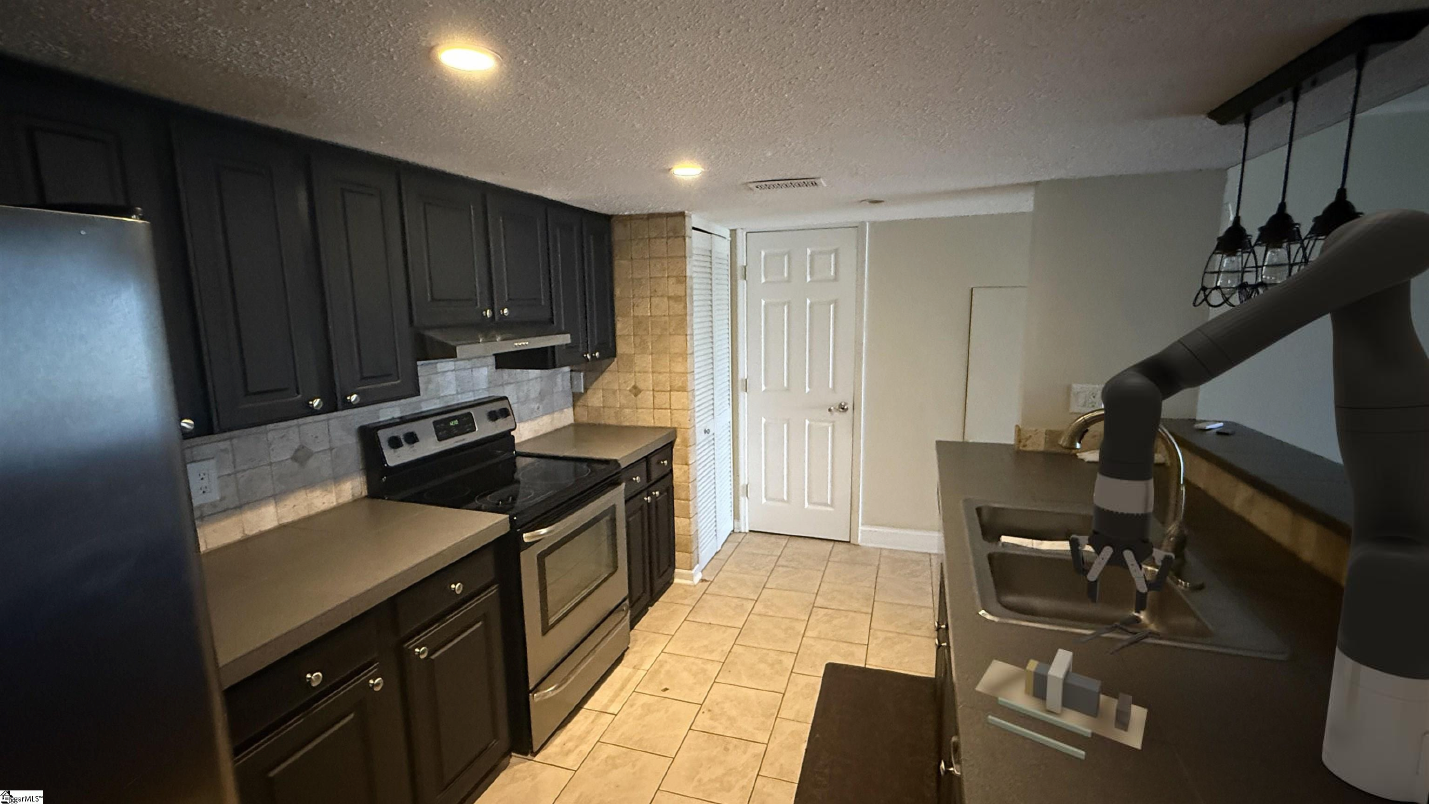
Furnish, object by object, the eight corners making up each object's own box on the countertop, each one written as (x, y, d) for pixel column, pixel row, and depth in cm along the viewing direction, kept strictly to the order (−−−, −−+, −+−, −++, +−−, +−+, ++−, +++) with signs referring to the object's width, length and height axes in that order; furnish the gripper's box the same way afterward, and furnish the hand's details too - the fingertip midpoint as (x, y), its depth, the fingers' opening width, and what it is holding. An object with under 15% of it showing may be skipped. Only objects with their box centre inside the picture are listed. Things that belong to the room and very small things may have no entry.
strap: (1070, 686, 101) (1072, 652, 100) (1060, 714, 94) (1062, 678, 93) (1057, 681, 102) (1059, 648, 101) (1045, 709, 96) (1047, 673, 95)
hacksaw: (1133, 618, 124) (1133, 611, 123) (1189, 642, 114) (1189, 635, 114) (1054, 649, 114) (1054, 641, 114) (1108, 678, 105) (1109, 670, 104)
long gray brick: (1099, 706, 96) (1101, 681, 95) (1096, 718, 93) (1097, 692, 93) (1029, 683, 103) (1030, 659, 102) (1024, 693, 100) (1025, 668, 99)
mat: (1090, 738, 90) (1091, 730, 90) (1083, 763, 85) (1084, 754, 85) (998, 704, 98) (999, 697, 98) (987, 725, 94) (987, 717, 93)
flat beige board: (1147, 712, 95) (1148, 690, 95) (1140, 753, 87) (1141, 729, 86) (993, 662, 110) (994, 643, 109) (975, 692, 102) (975, 672, 101)
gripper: (1183, 505, 90) (1174, 610, 93) (1073, 489, 99) (1068, 585, 102) (1180, 519, 84) (1170, 630, 87) (1064, 501, 94) (1059, 602, 96)
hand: (1115, 605), depth 94 cm, fingers open, 5 cm apart
